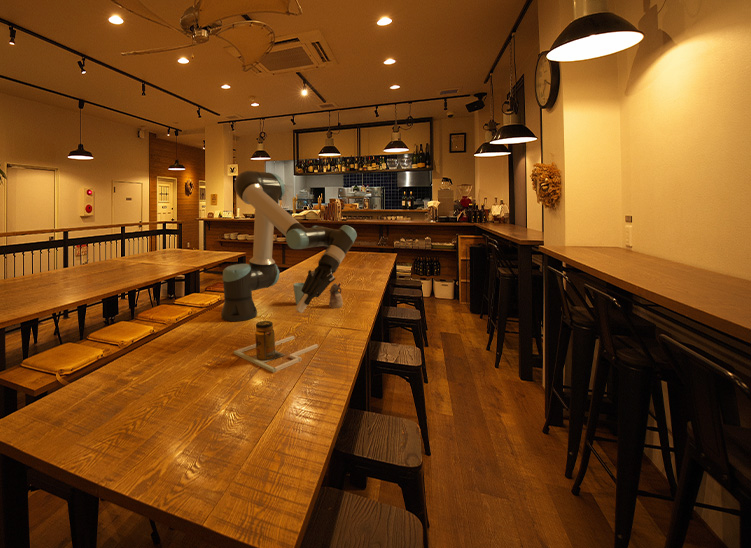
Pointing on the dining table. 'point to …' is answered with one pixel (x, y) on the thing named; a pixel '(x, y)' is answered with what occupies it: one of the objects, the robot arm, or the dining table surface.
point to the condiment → (265, 342)
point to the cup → (298, 291)
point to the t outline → (293, 355)
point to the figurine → (335, 296)
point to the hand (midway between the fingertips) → (298, 310)
